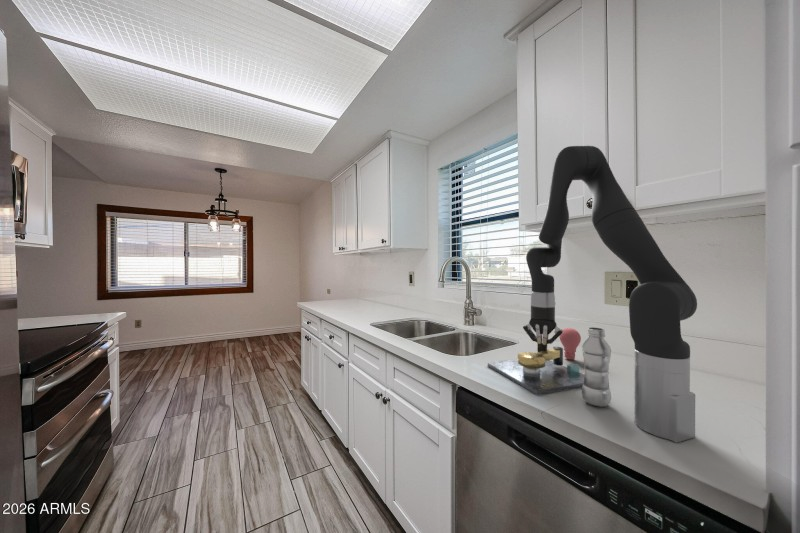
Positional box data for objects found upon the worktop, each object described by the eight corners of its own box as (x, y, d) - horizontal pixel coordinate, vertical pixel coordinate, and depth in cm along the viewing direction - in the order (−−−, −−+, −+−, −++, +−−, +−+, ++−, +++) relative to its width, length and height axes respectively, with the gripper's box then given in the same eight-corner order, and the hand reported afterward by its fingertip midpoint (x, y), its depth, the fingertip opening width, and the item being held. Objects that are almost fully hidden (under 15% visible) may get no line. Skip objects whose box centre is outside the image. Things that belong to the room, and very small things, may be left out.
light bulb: (575, 356, 114) (574, 326, 114) (584, 362, 107) (584, 330, 107) (556, 356, 115) (556, 326, 115) (564, 362, 108) (564, 330, 108)
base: (597, 384, 89) (597, 367, 89) (537, 395, 82) (537, 377, 82) (538, 359, 112) (538, 346, 111) (487, 366, 105) (487, 352, 105)
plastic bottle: (575, 400, 78) (575, 327, 78) (593, 396, 81) (593, 325, 80) (599, 412, 72) (599, 332, 72) (617, 407, 75) (617, 330, 74)
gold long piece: (534, 379, 87) (534, 361, 87) (512, 370, 94) (512, 353, 94) (572, 366, 97) (572, 350, 97) (549, 359, 104) (549, 344, 104)
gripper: (519, 304, 101) (519, 353, 101) (562, 308, 93) (562, 361, 93) (525, 301, 107) (525, 348, 107) (566, 305, 99) (565, 355, 99)
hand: (542, 354), depth 100 cm, fingers closed
